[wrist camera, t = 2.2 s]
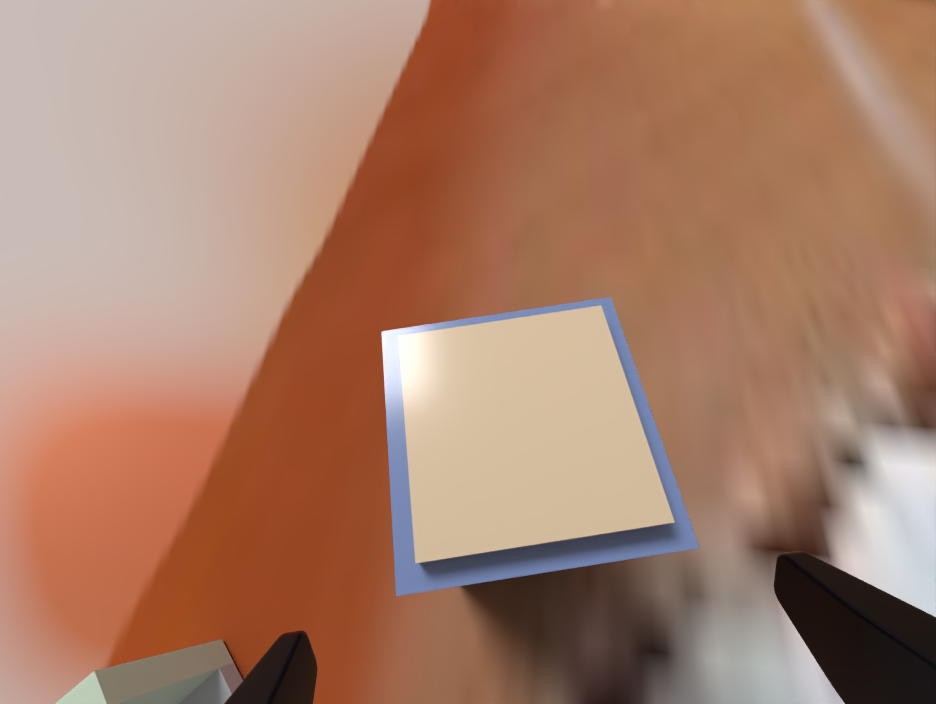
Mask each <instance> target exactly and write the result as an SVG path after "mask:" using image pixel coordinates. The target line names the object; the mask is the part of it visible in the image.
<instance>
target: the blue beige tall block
mask: <svg viewBox="0 0 936 704" xmlns="http://www.w3.org/2000/svg"><path fill="white" fill-rule="evenodd" d="M382 347H383V365H384V383H385V401H386V419H387V437H388V455H389V473H390V491H391V509H392V527H393V546H394V564H395V582H396V596H401V595H407V594H413V593H420V592H426V591H432V590H438V589H445V588H451V587H457V586H464V585H470V584H476V583H483V582H489V581H495V580H501V579H508V578H514V577H520V576H527V575H533V574H539V573H546V572H552V571H558V570H564V569H571V568H577V567H583V566H590V565H596V564H602V563H609V562H615V561H621V560H627V559H634V558H640V557H646V556H653V555H659V554H665V553H672V552H678V551H684V550H691V549H697V548H699V545H698V542H697V539H696V537H695V534H694V531H693V528H692V525H691V523H690V520H689V517H688V514H687V511H686V508H685V506H684V503H683V500H682V497H681V494H680V492H679V489H678V486H677V483H676V480H675V477H674V475H673V472H672V469H671V466H670V463H669V460H668V458H667V455H666V452H665V449H664V446H663V444H662V441H661V438H660V435H659V432H658V429H657V427H656V424H655V421H654V418H653V415H652V413H651V410H650V407H649V404H648V401H647V398H646V396H645V393H644V390H643V387H642V384H641V381H640V379H639V376H638V373H637V370H636V367H635V365H634V362H633V359H632V356H631V353H630V350H629V348H628V345H627V342H626V339H625V336H624V334H623V331H622V328H621V325H620V322H619V319H618V317H617V314H616V311H615V308H614V305H613V302H612V300H611V297H608V298H601V299H595V300H588V301H581V302H575V303H568V304H561V305H555V306H548V307H541V308H535V309H528V310H521V311H515V312H508V313H501V314H495V315H488V316H481V317H475V318H468V319H461V320H455V321H448V322H441V323H435V324H428V325H421V326H415V327H408V328H401V329H395V330H388V331H382Z"/></svg>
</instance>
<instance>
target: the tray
mask: <svg viewBox="0 0 936 704" xmlns="http://www.w3.org/2000/svg"><path fill="white" fill-rule="evenodd" d="M242 681H243V680H242V678H241V676H240V674H239V672H238V670H237V668H236V666H235V664H234V662H233V660H232V658H231V656H230V654H229V652H228V650H227V648H226V646H225V644H224V642H223V640H222V639H221V640H217V641H213V642H209V643H205V644H201V645H197V646H193V647H189V648H185V649H180V650H176V651H172V652H168V653H164V654H160V655H156V656H152V657H148V658H144V659H140V660H136V661H132V662H128V663H124V664H120V665H116V666H112V667H108V668H104V669H100V670H96V671H94V672H92V673H91V674H90V675H89V676H88V677H86V678H85V679H84V680H83V681H82V682H80V683H79V684H78V685H77V686H76V687H74V688H73V689H72V690H71V691H70V692H68V693H67V694H66V695H65V696H64V697H62V698H61V699H60V700H59V701H58V702H56V703H55V704H224V703H225V702H226V701H227V699H228V698H229V697H230V696H231V695H232V693H233V692H234V691H235V690H236V688H237V687H238V686H239V685H240V684H241V682H242Z"/></svg>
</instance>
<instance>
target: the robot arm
mask: <svg viewBox="0 0 936 704" xmlns="http://www.w3.org/2000/svg"><path fill="white" fill-rule="evenodd" d="M774 590H775V594H776V596H777V599H778V601H779V602H780V604H781V606H782V607H783V609H784V610H785V612H786V613H787V615H788V617H789V618H790V620H791V621H792V623H793V625H794V626H795V628H796V629H797V631H798V633H799V634H800V636H801V637H802V639H803V640H804V642H805V644H806V645H807V647H808V648H809V650H810V652H811V653H812V655H813V656H814V658H815V659H816V661H817V663H818V664H819V666H820V667H821V669H822V671H823V672H824V674H825V675H826V677H827V678H828V680H829V681H830V683H831V684H832V686H833V687H834V689H835V690H836V692H837V693H838V695H839V696H840V697H841V699H842V700H843V702H844V703H845V704H936V617H934V616H932V615H930V614H928V613H926V612H924V611H922V610H920V609H918V608H916V607H914V606H912V605H910V604H908V603H906V602H904V601H902V600H900V599H898V598H896V597H894V596H892V595H890V594H888V593H886V592H884V591H882V590H880V589H878V588H876V587H874V586H872V585H870V584H868V583H866V582H864V581H862V580H860V579H858V578H856V577H854V576H852V575H850V574H848V573H846V572H844V571H842V570H840V569H838V568H836V567H834V566H832V565H830V564H828V563H826V562H824V561H822V560H820V559H818V558H816V557H814V556H812V555H810V554H808V553H806V552H803V551H793V552H787V553H782V554H780V555H779V556H778V557H777V561H776V570H775V579H774ZM316 678H317V662H316V658H315V655H314V653H313V650H312V647H311V644H310V641H309V638H308V636H307V634H306V632H304V631H295V632H289V633H285V634H283V635H281V636H280V637H279V638H278V639H277V640H276V641H275V643H274V644H273V645H272V646H271V647H270V649H269V650H268V651H267V652H266V653H265V655H264V656H263V657H262V658H261V660H260V661H259V662H258V663H257V664H256V666H255V667H254V668H253V669H252V670H251V672H250V673H249V674H248V675H247V676H246V678H245V679H244V680H243V681H242V682H241V684H240V685H239V686H238V687H237V688H236V690H235V691H234V692H233V693H232V695H231V696H230V697H229V698H228V699H227V701H226V702H225V703H224V704H313V699H314V692H315V685H316Z"/></svg>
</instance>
